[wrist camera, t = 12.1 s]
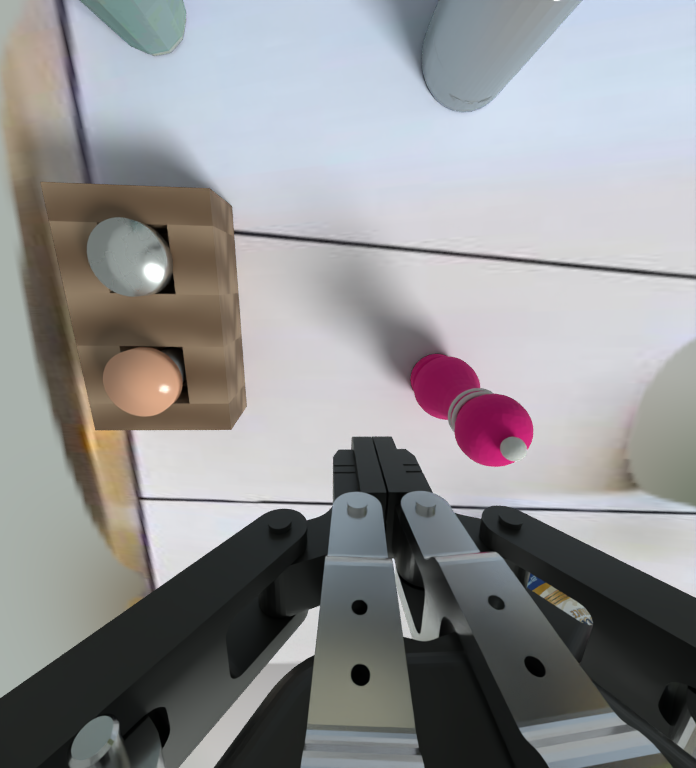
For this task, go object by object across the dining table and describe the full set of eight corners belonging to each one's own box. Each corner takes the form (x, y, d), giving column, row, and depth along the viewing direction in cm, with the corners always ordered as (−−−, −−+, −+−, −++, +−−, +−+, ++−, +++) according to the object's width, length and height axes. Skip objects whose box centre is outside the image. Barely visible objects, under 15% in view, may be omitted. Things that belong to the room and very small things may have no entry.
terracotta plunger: (139, 337, 36) (96, 349, 29) (199, 337, 37) (170, 350, 30) (149, 392, 38) (110, 416, 31) (205, 392, 38) (179, 416, 32)
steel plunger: (129, 229, 34) (79, 216, 27) (192, 231, 34) (159, 218, 28) (139, 293, 36) (95, 295, 29) (199, 294, 36) (169, 297, 30)
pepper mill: (402, 401, 43) (460, 496, 24) (411, 347, 41) (481, 403, 22) (455, 405, 44) (553, 500, 25) (466, 352, 42) (583, 411, 23)
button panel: (95, 201, 35) (40, 182, 28) (231, 206, 35) (209, 188, 29) (133, 406, 41) (95, 430, 35) (246, 406, 42) (231, 429, 36)
